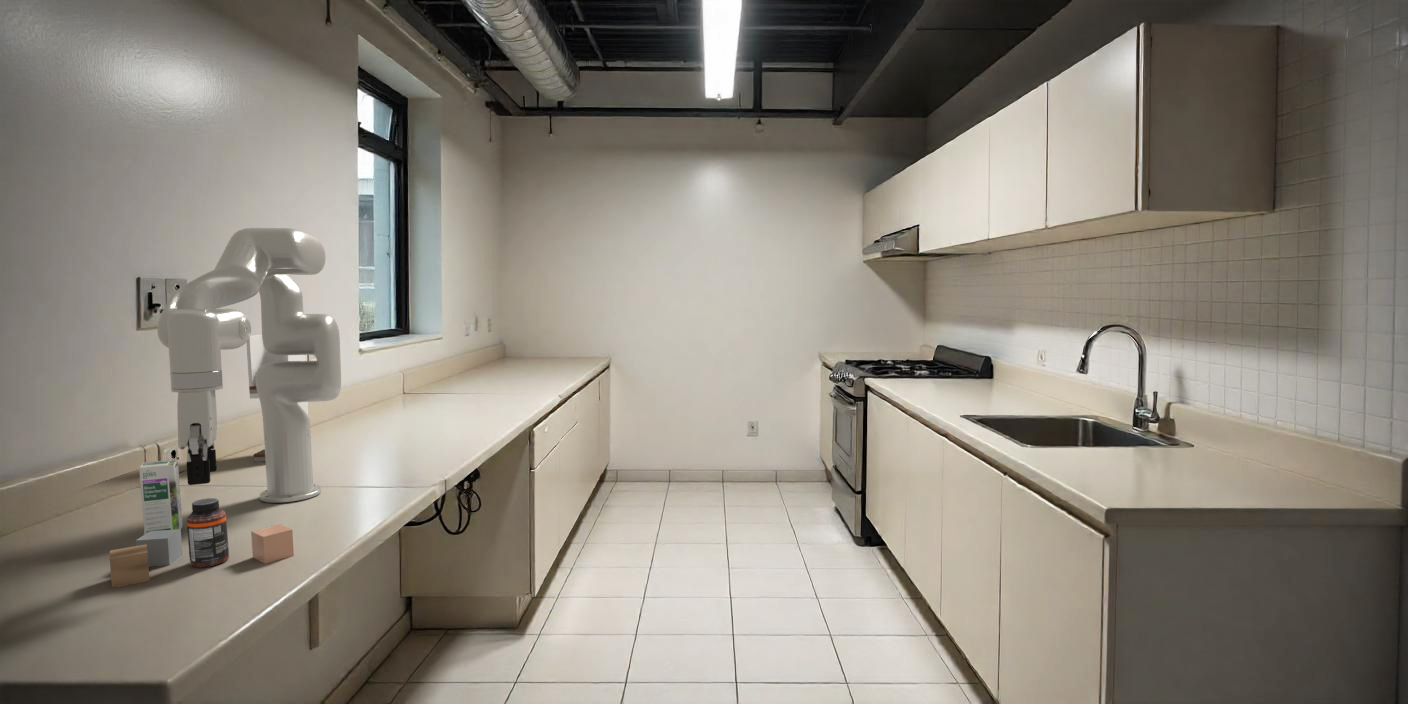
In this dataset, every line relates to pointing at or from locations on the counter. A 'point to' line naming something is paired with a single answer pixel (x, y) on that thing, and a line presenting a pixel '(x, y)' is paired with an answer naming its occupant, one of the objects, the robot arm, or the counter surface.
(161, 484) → the syrup box
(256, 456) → the display case
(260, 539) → the terracotta block
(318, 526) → the counter surface
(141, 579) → the walnut block
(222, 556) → the supplement bottle
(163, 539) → the slate grey block
